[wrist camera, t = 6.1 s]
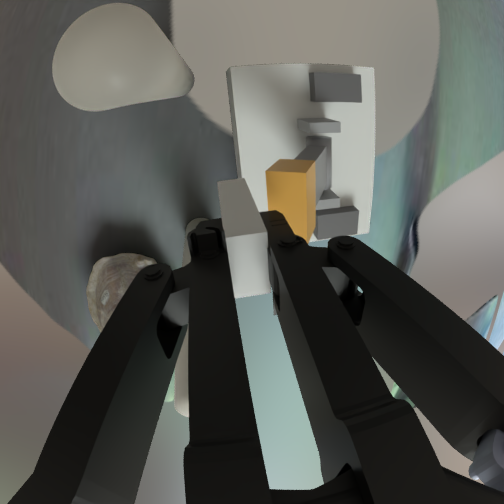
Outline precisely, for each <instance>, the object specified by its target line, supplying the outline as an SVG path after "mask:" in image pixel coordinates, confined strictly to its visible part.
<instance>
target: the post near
mask: <svg viewBox="0 0 504 504" xmlns="http://www.w3.org/2000/svg"><path fill="white" fill-rule="evenodd" d="M52 72H53V79H54V83H55V86H56V88H57V90H58V92H59V93H60V95H61V96H62V98H63V99H64V100H65V101H66V102H68V103H69V104H70V105H72V106H74V107H76V108H78V109H81V110H86V111H104V110H108V109H113V108H117V107H122V106H127V105H132V104H137V103H143V102H149V101H155V100H162V99H169V98H176V97H181V96H184V95H186V94H187V93H188V92H189V91H190V90H191V88H192V87H193V84H194V75H193V73H192V71H191V70H190V68H189V67H188V66H187V64H186V63H185V62H184V60H183V59H182V58H181V56H180V54H179V53H178V52H177V50H176V49H175V48H174V46H173V45H172V44H171V42H170V41H169V39H168V38H167V37H166V35H165V34H164V33H163V31H162V30H161V29H160V28H159V26H158V25H157V24H156V22H155V21H154V20H153V18H152V17H151V16H150V15H149V14H148V13H147V12H146V11H144V10H143V9H141V8H139V7H137V6H135V5H131V4H127V3H111V4H105V5H102V6H99V7H96V8H94V9H91V10H90V11H88V12H86V13H84V14H83V15H82V16H80V17H79V18H78V19H77V20H75V21H74V22H73V23H72V24H71V25H70V26H69V27H68V29H67V30H66V31H65V33H64V34H63V36H62V37H61V39H60V41H59V43H58V45H57V47H56V50H55V53H54V58H53V65H52Z"/></svg>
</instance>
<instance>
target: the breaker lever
mask: <svg viewBox="0 0 504 504" xmlns="http://www.w3.org/2000/svg"><path fill="white" fill-rule="evenodd" d="M265 174H266V187H267V201H268V211H272V210H277V211H279V212H280V213H282V214H283V215H284V217H285V218H286V220H287V222H288V224H289V225H290V227H291V229H292V230H293V232H294V234H295V235H298V236H300V237H302V238H304V239H305V240H306V242H307V244H308V243H309V241H310V238H311V236H312V234H313V231H314V229H315V225H316V206H317V204H318V201H319V199H320V197H321V195H322V193H323V191H324V190H327V189H330V188H331V187H332V138H331V137H329V136H319V135H316V136H307V137H306V148H305V149H304V150H303V151H302V152H301V153H300V154H299V155H298V156H297V157H296V158H295V159H279V160H278V161H277V162H275V163H274V164H273V165H272V166H271V167H269V168H268V169H267V170H266V171H265Z"/></svg>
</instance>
